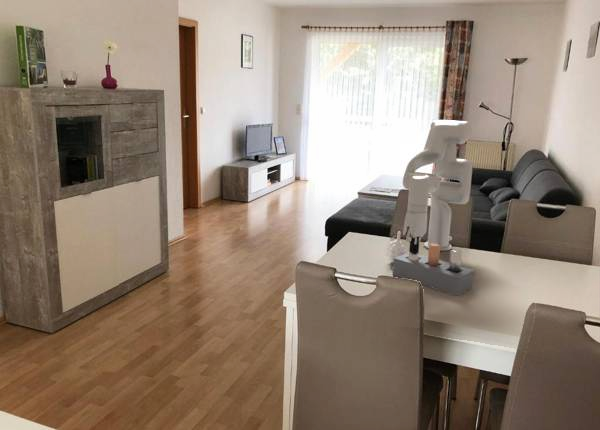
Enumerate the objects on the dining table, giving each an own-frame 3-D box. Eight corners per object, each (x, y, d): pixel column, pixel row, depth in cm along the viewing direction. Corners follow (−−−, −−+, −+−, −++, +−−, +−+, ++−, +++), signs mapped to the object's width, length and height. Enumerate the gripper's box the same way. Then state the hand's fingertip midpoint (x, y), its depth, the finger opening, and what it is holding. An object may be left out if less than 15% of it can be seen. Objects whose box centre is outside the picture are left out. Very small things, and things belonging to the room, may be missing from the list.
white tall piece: (403, 260, 218) (405, 229, 215) (404, 265, 212) (407, 233, 209) (386, 259, 219) (388, 228, 215) (387, 264, 213) (389, 232, 209)
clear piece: (452, 268, 190) (454, 248, 189) (461, 271, 188) (464, 251, 186) (446, 271, 188) (448, 250, 186) (456, 274, 185) (458, 253, 183)
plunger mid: (431, 262, 197) (433, 243, 195) (440, 265, 194) (442, 245, 192) (425, 264, 194) (427, 245, 192) (434, 267, 191) (436, 247, 189)
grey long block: (409, 267, 209) (411, 251, 208) (472, 287, 190) (474, 270, 188) (392, 274, 201) (393, 258, 199) (456, 295, 182) (458, 277, 180)
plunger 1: (410, 269, 204) (412, 251, 202) (419, 272, 202) (420, 253, 200) (404, 272, 202) (406, 253, 200) (413, 274, 199) (415, 255, 197)
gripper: (419, 203, 203) (416, 246, 207) (398, 209, 193) (394, 254, 197) (436, 206, 198) (432, 251, 202) (414, 212, 187) (411, 259, 192)
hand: (413, 252), depth 200 cm, fingers closed
